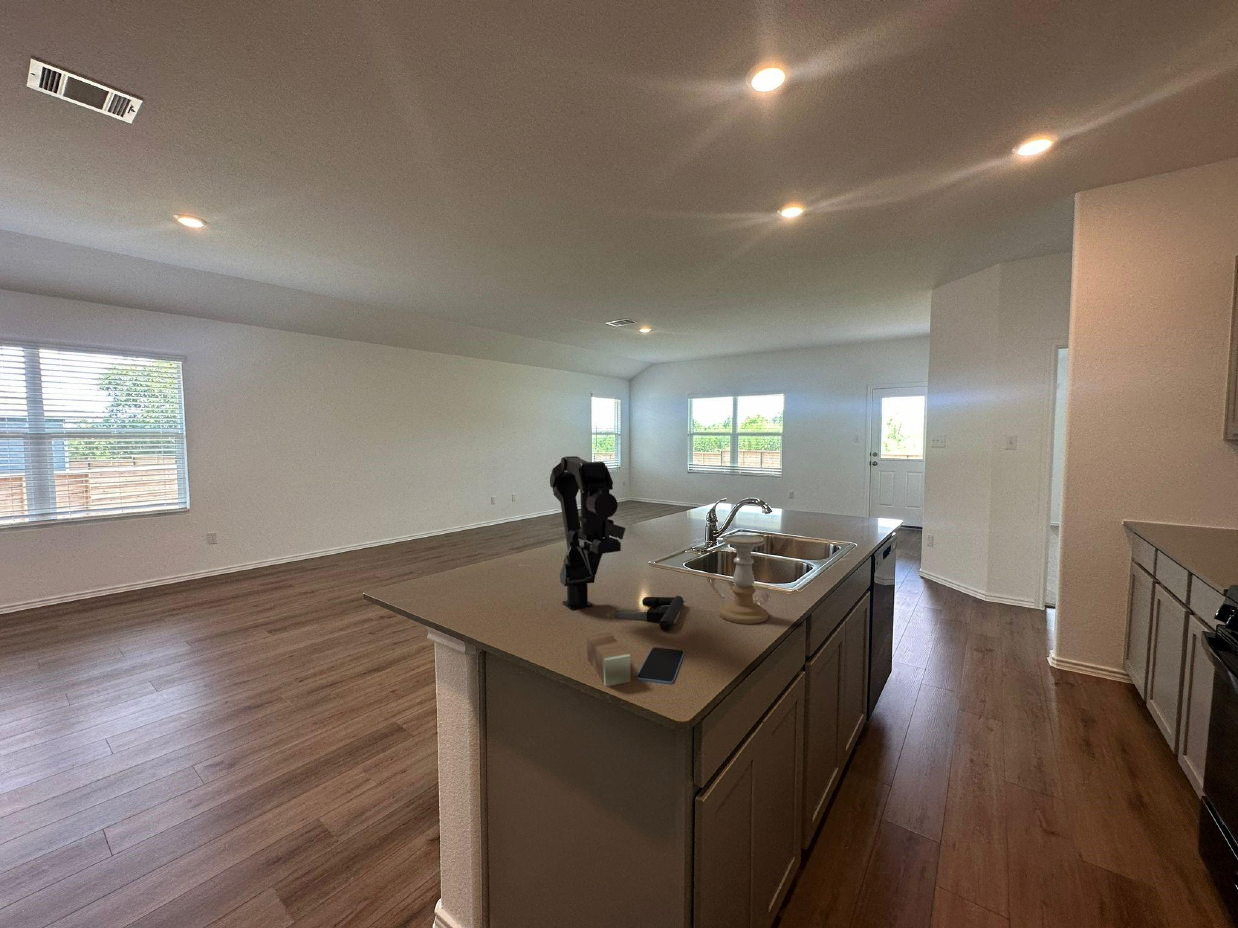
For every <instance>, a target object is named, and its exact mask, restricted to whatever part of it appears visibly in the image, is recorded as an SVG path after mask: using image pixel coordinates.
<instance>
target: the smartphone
mask: <svg viewBox="0 0 1238 928" xmlns="http://www.w3.org/2000/svg"><path fill="white" fill-rule="evenodd" d="M684 655H685V651H684V650H682V649H677V648H676V649H675V648H666V647H658V646H657V647H652V648H650V651H649V652H648V655H647V656H646V658H645V660H644V661H643V663H642V665H641V667H640V669H639V670H638V673H637V675H636V679H637V680H639V681H641V682H642V681H643V682H651V683H657V684H665V685H670V684H673V683H674V682H675V680H676V677H677V675H678V672H679V670H680V667H681V664H682V661H683V659H684Z"/></svg>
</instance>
